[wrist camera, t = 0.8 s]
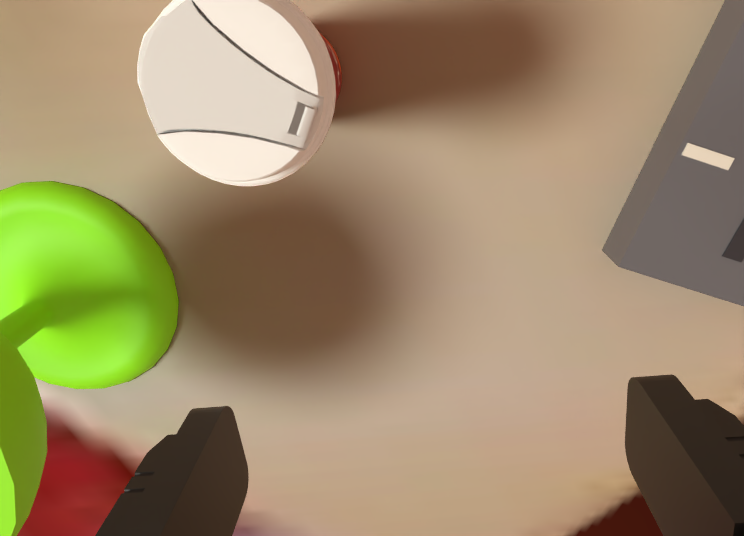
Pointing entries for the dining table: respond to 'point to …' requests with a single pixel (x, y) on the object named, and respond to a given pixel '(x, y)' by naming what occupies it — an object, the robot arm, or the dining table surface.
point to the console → (694, 178)
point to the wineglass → (70, 315)
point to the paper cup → (239, 87)
